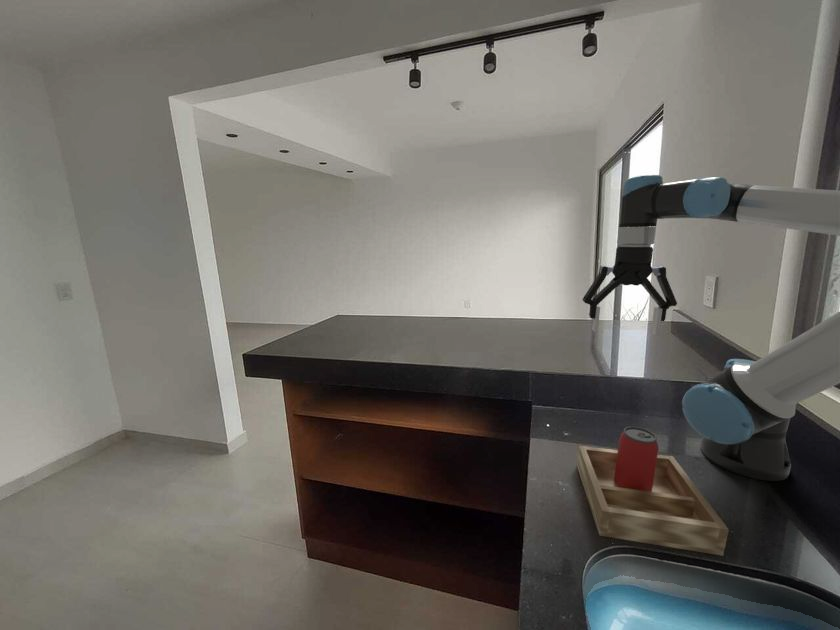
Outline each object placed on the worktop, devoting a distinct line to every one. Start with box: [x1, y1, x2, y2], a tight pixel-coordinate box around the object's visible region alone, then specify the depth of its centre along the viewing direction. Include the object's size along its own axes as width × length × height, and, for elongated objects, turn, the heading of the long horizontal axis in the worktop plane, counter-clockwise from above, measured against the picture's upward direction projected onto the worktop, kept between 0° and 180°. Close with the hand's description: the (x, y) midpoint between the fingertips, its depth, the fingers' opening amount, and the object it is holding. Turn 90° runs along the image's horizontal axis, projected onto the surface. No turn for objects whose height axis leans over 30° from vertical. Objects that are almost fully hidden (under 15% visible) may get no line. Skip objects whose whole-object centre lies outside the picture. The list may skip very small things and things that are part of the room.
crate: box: [576, 445, 729, 557], centre depth 68 cm, size 18×19×5 cm
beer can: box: [614, 426, 659, 492], centre depth 70 cm, size 7×7×12 cm
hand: (624, 332), depth 88 cm, fingers open, 13 cm apart
